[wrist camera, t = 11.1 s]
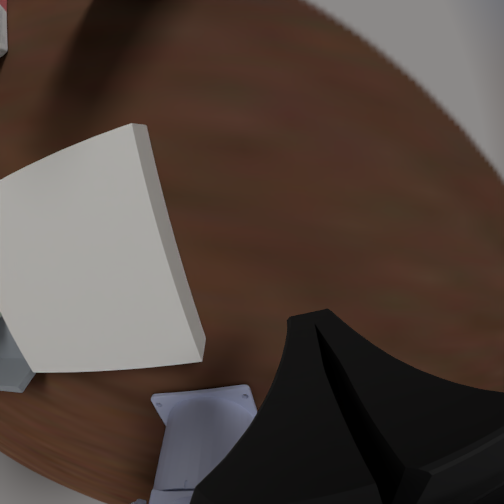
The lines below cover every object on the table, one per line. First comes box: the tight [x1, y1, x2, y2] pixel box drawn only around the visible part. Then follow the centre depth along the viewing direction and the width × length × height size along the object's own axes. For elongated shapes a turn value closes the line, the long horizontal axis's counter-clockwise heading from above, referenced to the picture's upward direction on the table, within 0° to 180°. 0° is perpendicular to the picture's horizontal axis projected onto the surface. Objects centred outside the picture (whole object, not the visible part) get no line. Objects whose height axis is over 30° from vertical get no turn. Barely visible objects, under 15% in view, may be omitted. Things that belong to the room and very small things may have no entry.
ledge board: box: [0, 123, 206, 373], centre depth 18 cm, size 14×14×2 cm
